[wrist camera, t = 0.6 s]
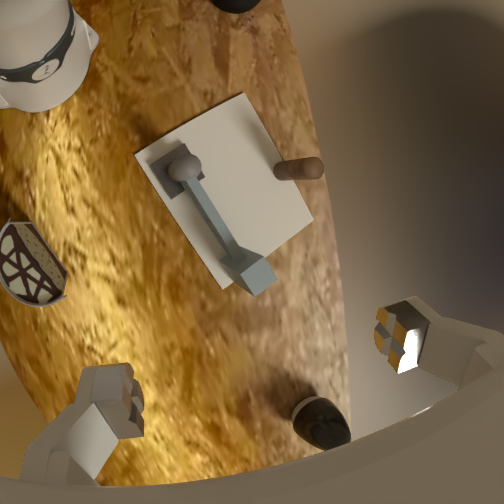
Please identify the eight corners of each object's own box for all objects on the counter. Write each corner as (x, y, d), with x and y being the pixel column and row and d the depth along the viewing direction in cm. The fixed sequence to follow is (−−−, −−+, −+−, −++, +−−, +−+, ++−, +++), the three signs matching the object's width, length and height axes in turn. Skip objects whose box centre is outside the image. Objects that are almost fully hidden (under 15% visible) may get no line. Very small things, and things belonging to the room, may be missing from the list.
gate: (159, 169, 44) (169, 163, 36) (182, 154, 45) (197, 146, 37) (231, 280, 51) (255, 297, 43) (251, 265, 52) (277, 279, 44)
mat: (134, 155, 43) (134, 155, 42) (243, 93, 47) (244, 92, 47) (222, 289, 52) (222, 289, 52) (312, 219, 57) (313, 220, 56)
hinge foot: (148, 165, 44) (149, 164, 43) (183, 143, 45) (184, 142, 44) (170, 199, 46) (171, 199, 45) (203, 177, 47) (205, 177, 46)
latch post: (268, 167, 52) (301, 163, 43) (283, 158, 52) (317, 153, 43) (277, 184, 53) (311, 183, 44) (292, 174, 53) (327, 172, 44)
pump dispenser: (275, 417, 62) (313, 461, 48) (307, 382, 63) (352, 420, 50) (301, 431, 66) (338, 470, 52) (330, 399, 68) (372, 434, 54)
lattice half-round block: (-1, 239, 36) (-26, 250, 27) (27, 213, 38) (5, 218, 28) (46, 303, 41) (32, 329, 32) (74, 279, 42) (64, 301, 33)
